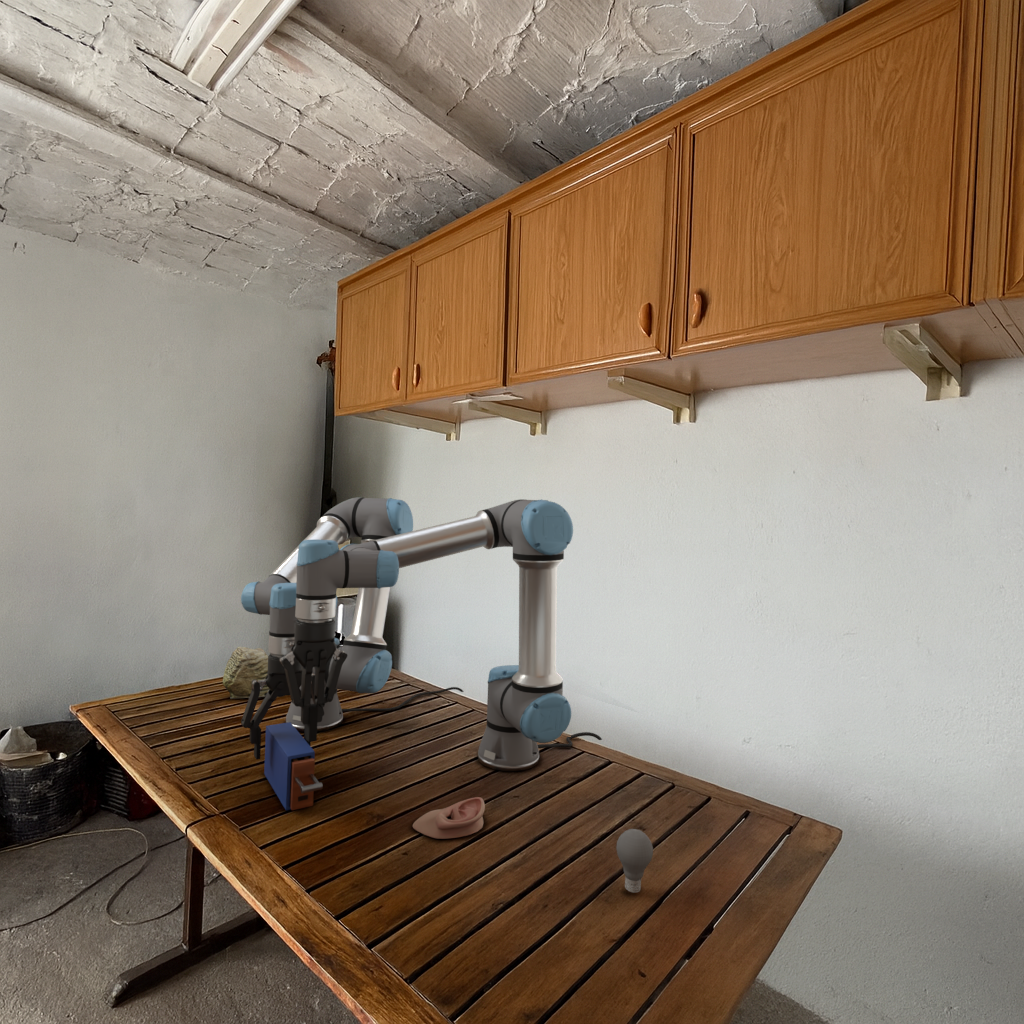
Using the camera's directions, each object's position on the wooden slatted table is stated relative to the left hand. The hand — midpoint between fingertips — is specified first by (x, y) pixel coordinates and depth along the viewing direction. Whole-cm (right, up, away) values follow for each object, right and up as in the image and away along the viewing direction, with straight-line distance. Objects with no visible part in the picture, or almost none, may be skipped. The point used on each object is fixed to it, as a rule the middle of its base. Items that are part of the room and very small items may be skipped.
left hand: (282, 752), depth 141 cm
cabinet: (+3, -6, -4) cm, 8 cm away
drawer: (+6, -6, -9) cm, 12 cm away
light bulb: (+71, -10, -35) cm, 80 cm away
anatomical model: (+39, -8, -17) cm, 43 cm away
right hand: (+12, +9, -17) cm, 23 cm away
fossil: (-30, -4, +57) cm, 64 cm away
